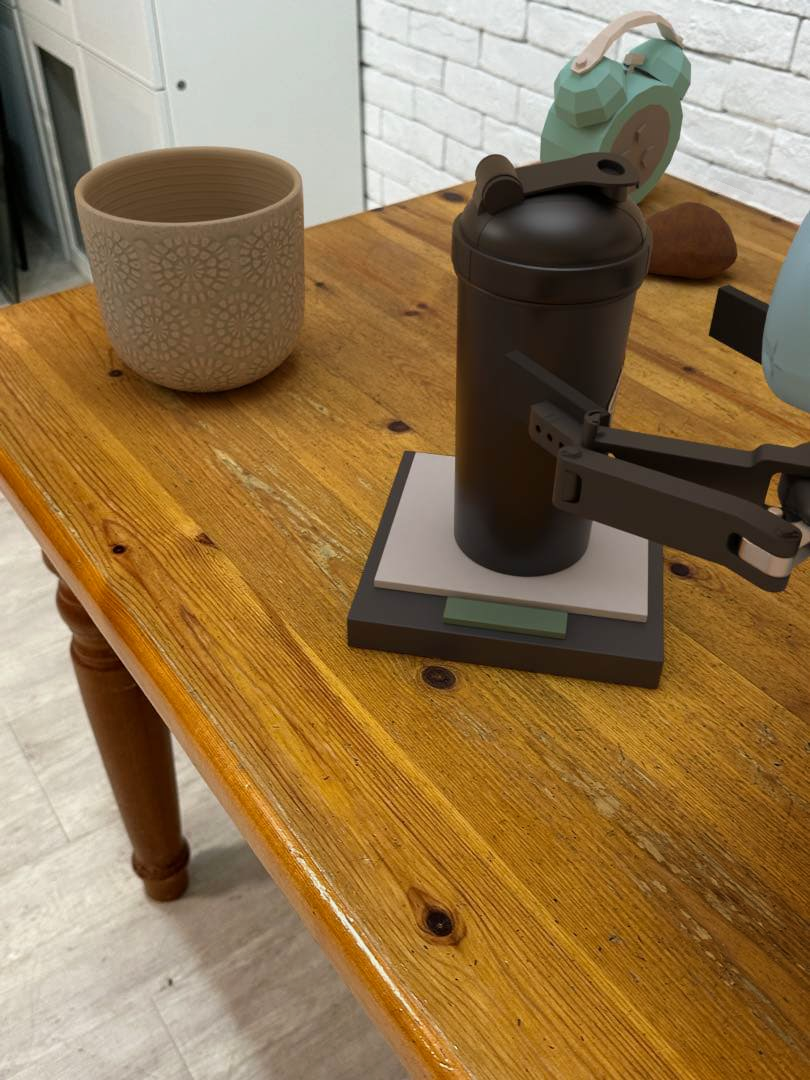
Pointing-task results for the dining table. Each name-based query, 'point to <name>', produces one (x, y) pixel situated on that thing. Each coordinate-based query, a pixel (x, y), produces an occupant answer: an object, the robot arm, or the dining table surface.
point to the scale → (505, 594)
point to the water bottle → (537, 339)
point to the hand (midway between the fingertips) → (618, 341)
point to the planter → (197, 262)
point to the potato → (690, 242)
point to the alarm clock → (621, 101)
